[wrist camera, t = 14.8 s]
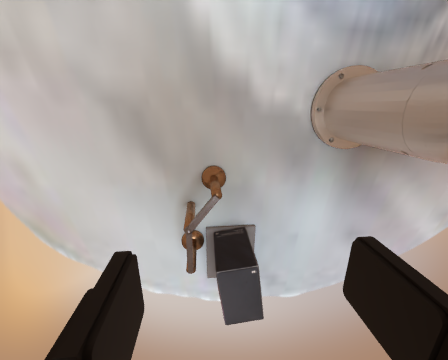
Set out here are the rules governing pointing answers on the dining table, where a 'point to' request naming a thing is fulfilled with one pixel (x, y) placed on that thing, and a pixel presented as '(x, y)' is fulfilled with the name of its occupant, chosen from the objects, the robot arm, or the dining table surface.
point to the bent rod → (201, 214)
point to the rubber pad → (210, 244)
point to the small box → (237, 276)
